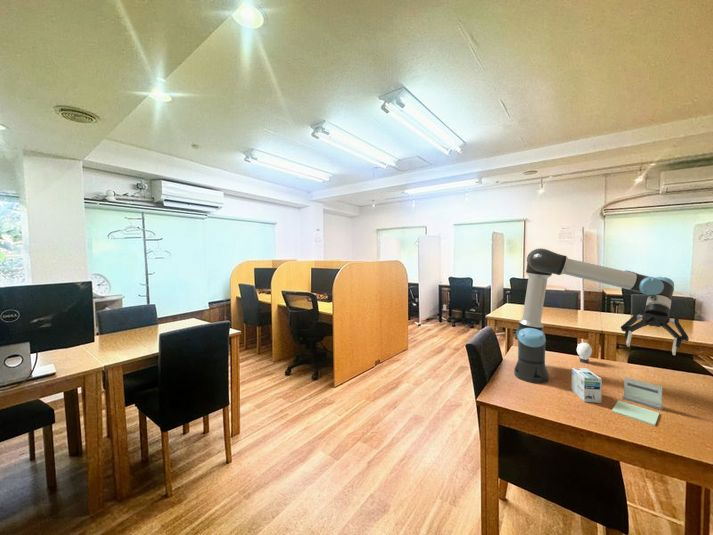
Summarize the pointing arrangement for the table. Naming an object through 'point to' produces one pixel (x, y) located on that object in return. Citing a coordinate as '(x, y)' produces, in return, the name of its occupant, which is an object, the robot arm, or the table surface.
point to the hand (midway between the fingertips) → (649, 349)
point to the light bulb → (584, 352)
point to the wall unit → (643, 393)
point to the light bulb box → (586, 385)
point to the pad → (636, 412)
